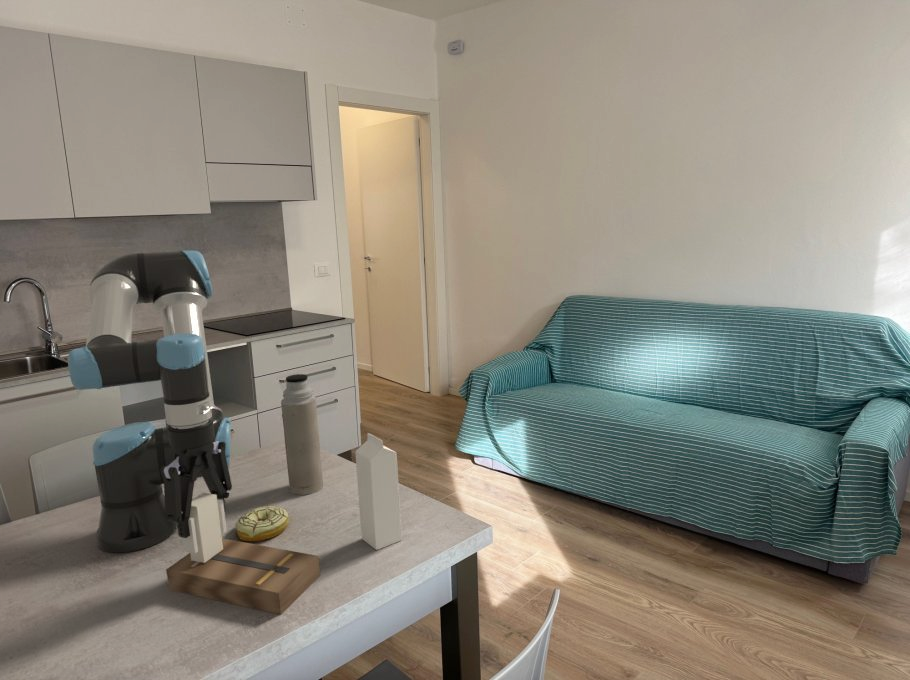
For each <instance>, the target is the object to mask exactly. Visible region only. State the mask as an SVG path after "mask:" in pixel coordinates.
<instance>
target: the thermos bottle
mask: <svg viewBox="0 0 910 680" xmlns="http://www.w3.org/2000/svg"><path fill="white" fill-rule="evenodd" d="M307 380H308V375H307V374H303V373H297V374H292V375H288V376H286V377H285V381H286V382H285V383H286V386H285V387H286V388H285V389H284V390H283V392H282V393H283V394H282V400H281V401H280V405H281V406H280V407H281V415H282V425H283V434H284V435H283V436H284V445H285V455H286V465H287V475H288V484H289V485H288V486H289V492H290V493H292V494H294V495H300V496H303V495H304V496H305V495H310V494H313V493H314V494H315V493H318V492H319V491H320V490H322V489H323V487H324V478H323V477H324V475H323V467H322V459H321V443H320V433H319V432H320V431H319V422H318V420H319V419H318V410H317V408H318V407H317V398H316V397H315V396H314V395H313V394H314V392H313V389H312V387H310V386H309V384H308V381H307Z"/></svg>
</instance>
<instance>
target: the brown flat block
mask: <svg viewBox="0 0 910 680" xmlns="http://www.w3.org/2000/svg"><path fill="white" fill-rule="evenodd" d="M222 543H223V550H221V551H220V552H219V553H217V554H216V555H215V556H213V557H212V558H211V559H209V560H208V561H207V562H205V563H202V562H196V561H191V555H190V552H188V553H187V554H186V555H185V556H183V557H182V558H181V559H179V560H177V561H176V562H175V563H173V564H172V565H171V566H169V567H167V568H166V569H165V570H166V579H167V585H168V590H169V591H174V592H179V593H183V594H188V595H192V596H197V597H199V598H200V597H202V598H204V599H205V598H206V599H210V600H215V601H218V602H223V603H228V604H232V605H236V606H242V607H246V608H250V609H253V610H254V609H255V610H259V611H264V612H268V613H272V614H277V615H282V614H283V613H284V612H285V611H286V610H287V609H288V608H290V606H292V604H293V603H295V601H297V599H298V598H299V597H300V596H301V595H302V594H304V592H306V591H307V589H308V588H309V587H310V586H311V585H313V583H315V581H316V580H317V579H318V578H320V576H321V572H320V571H321V569H320V560H319V555H316V554H311V553H305V552H299V551H293V550H289V549H283V548H277V547H271V546H266V545H260V544H255V543H250V542H245V541H238V540H234V539H227V538H222Z"/></svg>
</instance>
